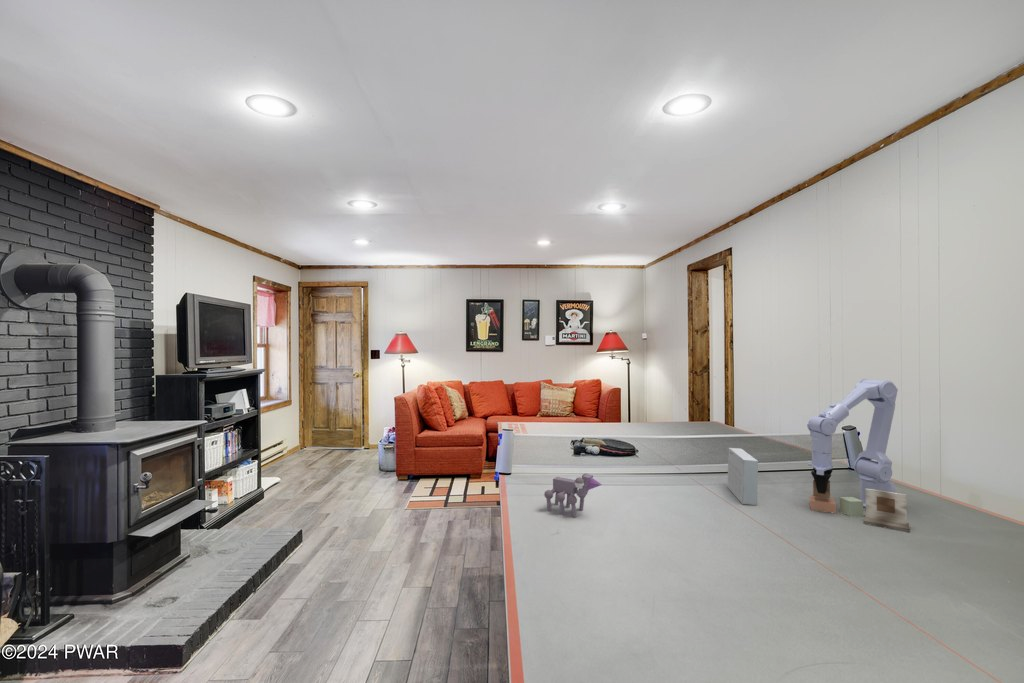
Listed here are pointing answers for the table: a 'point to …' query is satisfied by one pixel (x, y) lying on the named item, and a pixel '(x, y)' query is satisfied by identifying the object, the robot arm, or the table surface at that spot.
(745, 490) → the skincare box
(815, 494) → the walnut block
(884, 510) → the card
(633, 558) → the table surface
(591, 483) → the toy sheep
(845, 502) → the sage block
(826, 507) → the base block
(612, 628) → the table surface
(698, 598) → the table surface
